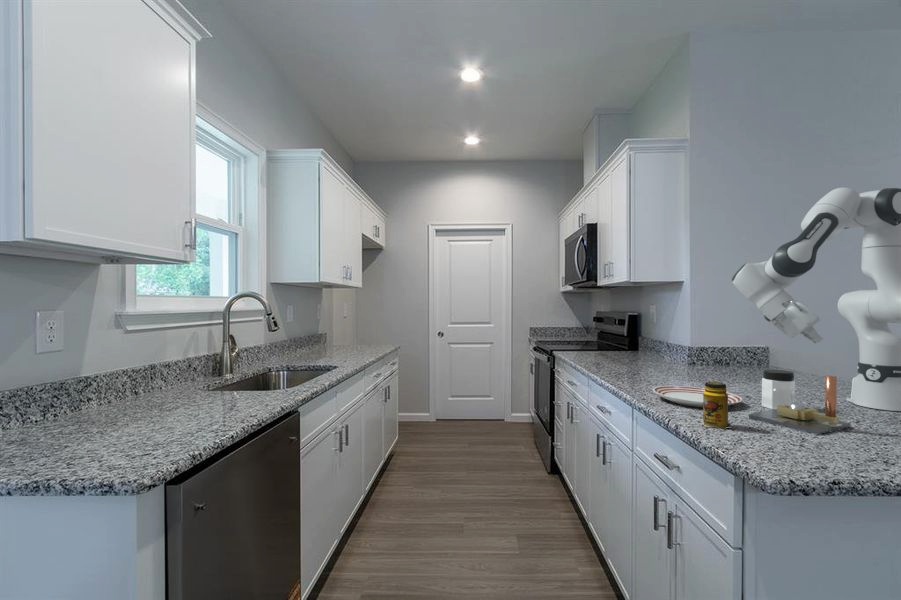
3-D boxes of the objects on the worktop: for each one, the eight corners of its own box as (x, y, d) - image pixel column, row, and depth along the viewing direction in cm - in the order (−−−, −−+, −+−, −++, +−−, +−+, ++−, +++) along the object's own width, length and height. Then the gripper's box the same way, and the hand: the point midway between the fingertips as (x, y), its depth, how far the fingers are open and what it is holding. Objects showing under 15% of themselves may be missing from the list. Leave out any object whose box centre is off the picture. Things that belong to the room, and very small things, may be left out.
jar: (787, 412, 142) (787, 374, 142) (758, 406, 149) (758, 370, 149) (798, 408, 147) (798, 371, 147) (770, 403, 154) (770, 368, 154)
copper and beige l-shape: (775, 414, 134) (775, 370, 134) (791, 411, 137) (791, 368, 137) (827, 426, 121) (828, 377, 121) (844, 423, 124) (844, 376, 124)
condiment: (701, 426, 126) (702, 384, 126) (700, 419, 134) (700, 379, 133) (732, 430, 123) (732, 386, 123) (729, 422, 130) (729, 381, 130)
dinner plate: (727, 396, 166) (727, 387, 166) (755, 414, 140) (755, 404, 140) (647, 391, 174) (647, 383, 174) (659, 408, 148) (659, 398, 148)
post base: (779, 412, 142) (780, 396, 142) (850, 427, 126) (851, 409, 126) (747, 418, 135) (747, 401, 135) (818, 435, 118) (818, 416, 118)
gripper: (798, 291, 129) (842, 328, 123) (780, 307, 147) (817, 340, 141) (779, 305, 130) (821, 342, 124) (763, 320, 148) (799, 352, 142)
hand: (819, 341), depth 133 cm, fingers closed
